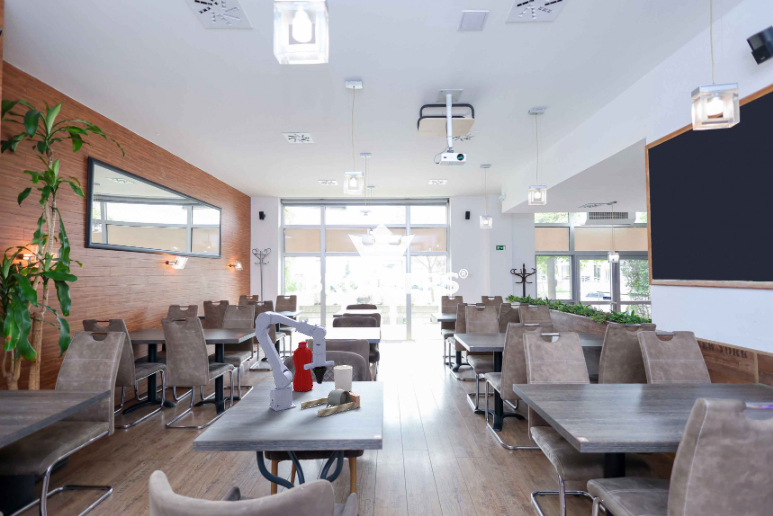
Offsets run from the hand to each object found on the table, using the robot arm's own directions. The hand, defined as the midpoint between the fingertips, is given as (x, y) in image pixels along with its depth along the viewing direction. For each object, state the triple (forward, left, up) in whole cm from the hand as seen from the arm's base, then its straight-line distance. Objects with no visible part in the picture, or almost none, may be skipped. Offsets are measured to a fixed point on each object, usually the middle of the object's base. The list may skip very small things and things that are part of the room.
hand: (319, 383), depth 192 cm
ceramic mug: (+5, -7, -11) cm, 14 cm away
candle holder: (+23, +15, -11) cm, 29 cm away
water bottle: (+8, +32, -11) cm, 35 cm away
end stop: (+12, -5, -10) cm, 17 cm away
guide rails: (+2, -5, -10) cm, 11 cm away
